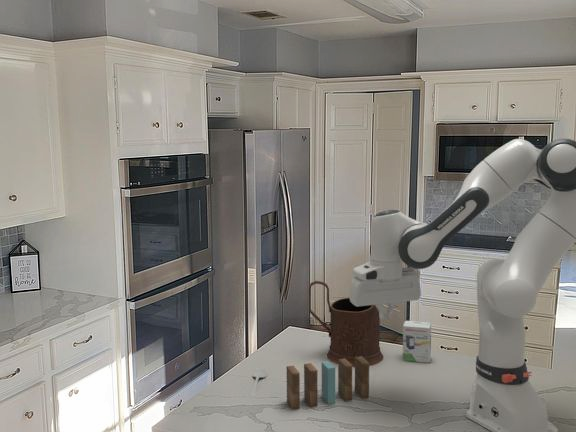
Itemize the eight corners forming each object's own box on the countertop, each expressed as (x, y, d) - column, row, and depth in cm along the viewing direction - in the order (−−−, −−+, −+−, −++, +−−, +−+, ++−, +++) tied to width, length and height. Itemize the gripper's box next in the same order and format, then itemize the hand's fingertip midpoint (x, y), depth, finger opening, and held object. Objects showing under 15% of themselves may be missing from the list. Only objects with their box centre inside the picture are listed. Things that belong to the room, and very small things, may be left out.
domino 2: (311, 397, 159) (311, 363, 158) (317, 405, 154) (317, 370, 153) (304, 398, 158) (304, 363, 157) (310, 406, 154) (310, 371, 152)
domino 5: (361, 389, 164) (361, 356, 162) (368, 397, 159) (369, 362, 157) (354, 390, 163) (354, 357, 161) (362, 398, 158) (362, 363, 157)
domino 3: (328, 395, 161) (328, 360, 159) (335, 402, 156) (335, 367, 154) (321, 396, 160) (321, 361, 159) (328, 404, 155) (328, 368, 154)
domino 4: (344, 392, 162) (344, 358, 161) (352, 400, 157) (352, 365, 156) (338, 393, 161) (338, 359, 160) (345, 401, 157) (345, 366, 155)
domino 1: (293, 400, 158) (293, 365, 156) (299, 408, 153) (299, 372, 151) (286, 401, 157) (286, 366, 156) (292, 409, 152) (292, 373, 151)
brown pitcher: (387, 367, 179) (388, 288, 175) (309, 367, 180) (309, 289, 176) (379, 345, 197) (380, 273, 194) (308, 345, 198) (308, 274, 194)
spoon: (268, 372, 177) (268, 367, 177) (257, 404, 157) (256, 398, 156) (254, 372, 177) (254, 367, 177) (241, 403, 157) (241, 397, 157)
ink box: (430, 357, 186) (431, 322, 184) (429, 363, 181) (430, 327, 180) (403, 354, 189) (404, 320, 187) (402, 360, 184) (402, 325, 182)
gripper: (414, 263, 164) (413, 311, 166) (347, 269, 158) (347, 318, 160) (425, 268, 158) (424, 317, 160) (356, 275, 152) (356, 325, 154)
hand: (385, 318), depth 160 cm, fingers closed
